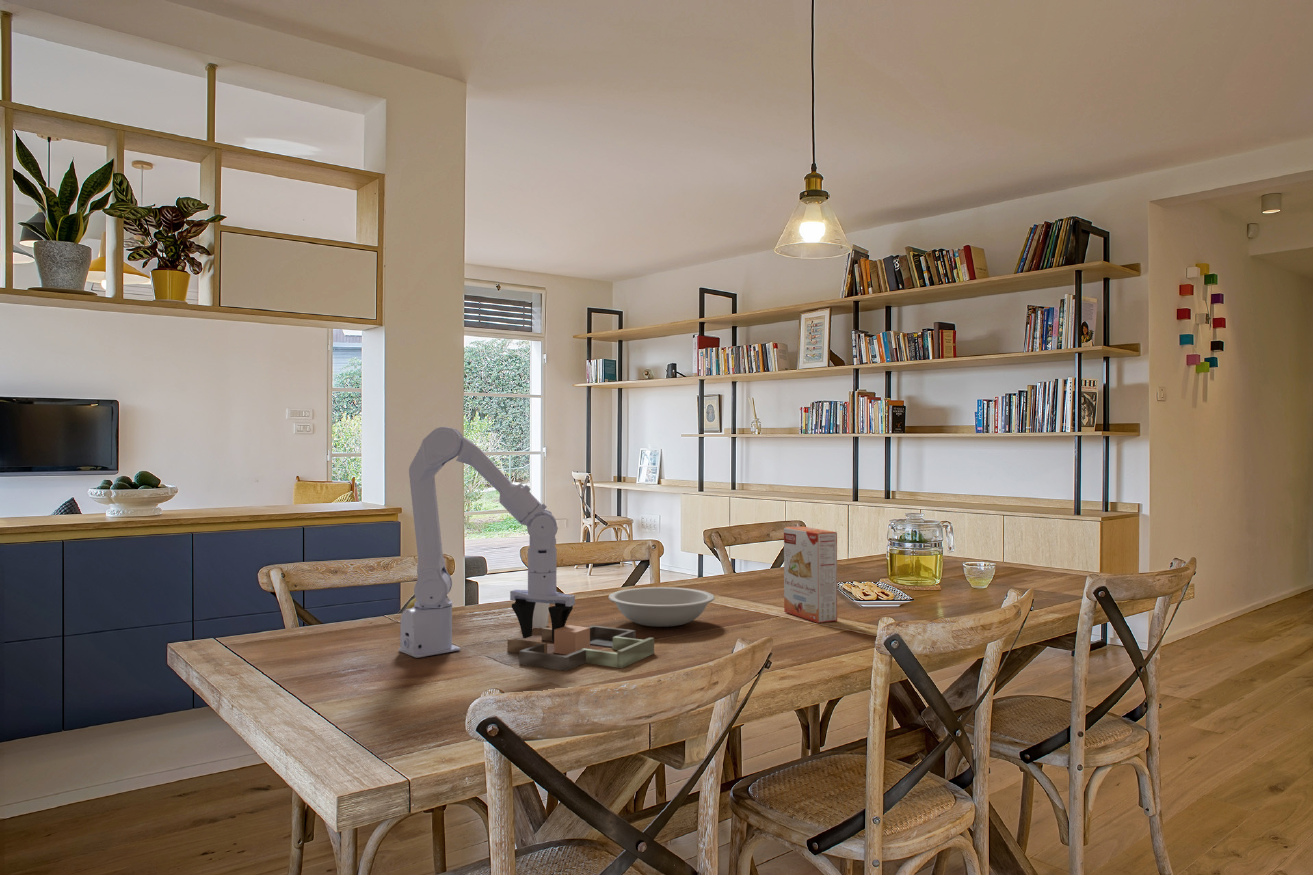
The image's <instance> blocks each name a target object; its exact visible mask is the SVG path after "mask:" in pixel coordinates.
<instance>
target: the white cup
mask: <svg viewBox="0 0 1313 875" xmlns="http://www.w3.org/2000/svg"><path fill="white" fill-rule="evenodd" d="M550 605H551V604H547V603H538V602H536V604H535V608H534V613H533V625H532V628H537V629H542V628H544V627H545V628H548V626H549V616H550V613H549V610H548V608H549V607H550Z"/></svg>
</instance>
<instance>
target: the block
mask: <svg viewBox="0 0 1313 875" xmlns="http://www.w3.org/2000/svg"><path fill="white" fill-rule="evenodd" d="M588 627H589V626H587V627H586V626H577V625H571V624H568V625H565V626H564V627H561V628H558V629H555V630H554V642H553V644H554V645H553V646H554V648H553V650H554V651H553V654H558V655H564V656H565V655H568V654H571V653H573V652H576V651H578V650H581V649H583V648H586V649H591V645H590V628H588Z"/></svg>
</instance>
